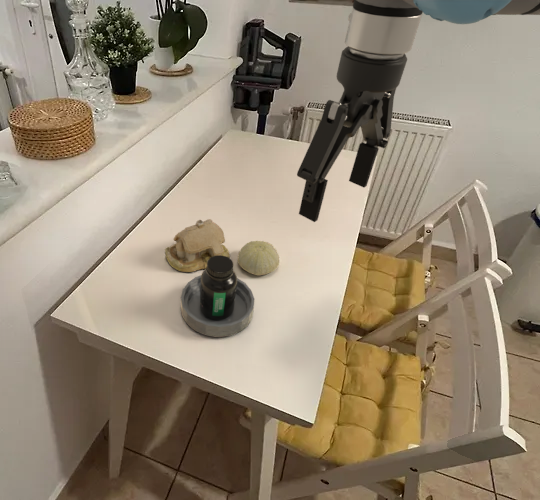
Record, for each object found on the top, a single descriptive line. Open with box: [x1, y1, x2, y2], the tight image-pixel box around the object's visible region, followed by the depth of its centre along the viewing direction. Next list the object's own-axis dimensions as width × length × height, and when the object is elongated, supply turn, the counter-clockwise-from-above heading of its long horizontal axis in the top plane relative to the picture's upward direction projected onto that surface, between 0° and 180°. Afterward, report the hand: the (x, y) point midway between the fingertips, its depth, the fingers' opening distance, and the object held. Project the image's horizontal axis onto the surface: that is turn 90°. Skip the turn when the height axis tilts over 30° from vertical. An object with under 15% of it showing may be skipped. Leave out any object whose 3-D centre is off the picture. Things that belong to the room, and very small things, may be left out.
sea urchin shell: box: [237, 240, 280, 277], centre depth 95 cm, size 9×8×8 cm
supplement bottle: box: [200, 255, 238, 320], centre depth 82 cm, size 7×7×12 cm
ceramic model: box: [164, 218, 231, 273], centre depth 95 cm, size 14×11×10 cm
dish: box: [180, 275, 255, 338], centre depth 85 cm, size 14×14×4 cm
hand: (334, 199), depth 65 cm, fingers open, 13 cm apart
